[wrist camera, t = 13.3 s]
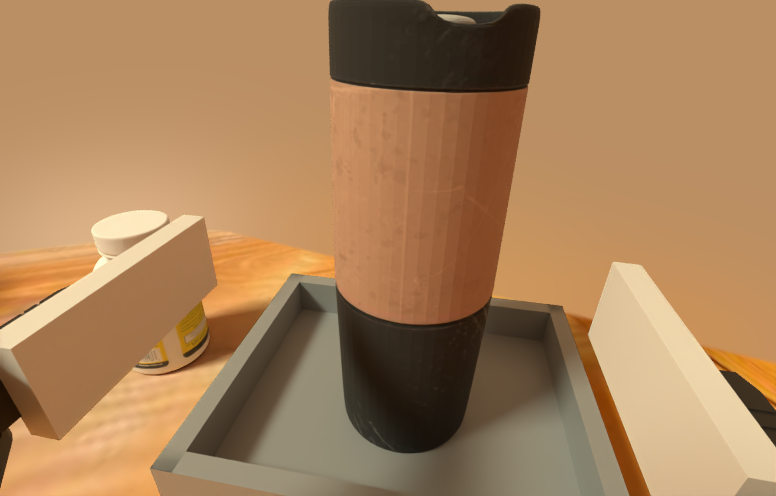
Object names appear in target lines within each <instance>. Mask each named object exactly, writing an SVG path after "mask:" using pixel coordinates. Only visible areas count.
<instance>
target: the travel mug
mask: <svg viewBox="0 0 776 496" xmlns="http://www.w3.org/2000/svg"><path fill="white" fill-rule="evenodd" d="M328 18H329V51H330V52H329V56H330V76H331V77H330V92H331V133H332V171H333V172H332V173H333V206H334V207H333V209H334V210H333V212H334V251H335V281H336V298H337V311H338V325H339V338H340V352H341V365H342V379H343V391H344V401H345V407H346V412H347V415H348V417H349V420H350V421H351V423H352V425H353V427H354V428H355V429H356V430H357V432H358V433H359V434H360V435H361V436H362V437H363V438H365V439H366V440H368V441H369V442H370V443H372V444H374V445H376V446H378V447H380V448H383V449H385V450H389V451H392V452H398V453H420V452H424V451H429V450H431V449H434V448H437V447H438V446H440V445H442V444H444V443H445V442H447V441H448V440H449V439H450V438H451V437H452V436H453V435H454V434H455V433H456V431H457V430H458V429H459V427H460V425H461V423H462V421H463V418H464V415H465V412H466V408H467V404H468V400H469V396H470V391H471V387H472V382H473V378H474V373H475V369H476V365H477V360H478V356H479V351H480V347H481V342H482V338H483V333H484V329H485V324H486V320H487V316H488V311H489V307H490V302H491V298H492V292H493V288H494V282H495V276H496V270H497V265H498V259H499V253H500V247H501V241H502V236H503V230H504V224H505V219H506V213H507V207H508V201H509V195H510V190H511V183H512V177H513V172H514V166H515V161H516V154H517V149H518V143H519V138H520V132H521V126H522V120H523V114H524V109H525V102H526V97H527V91H528V84H529V80H530V74H531V68H532V62H533V56H534V51H535V45H536V39H537V33H538V28H539V21H540V8H539V7H538V6H534V5H530V4H514V5H511V6H509V7H508V8H507V9H506V10H505V11H497V12H496V11H495V12H458V11H454V12H453V11H434V10H433V9H432V7H431V6H430V5H429V4H427V3H426V2H424V1H421V0H332V1H331V2H330V4H329V17H328Z"/></svg>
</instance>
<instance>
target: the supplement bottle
mask: <svg viewBox="0 0 776 496" xmlns="http://www.w3.org/2000/svg"><path fill="white" fill-rule="evenodd" d="M169 223H170V221H169V218H168V216H167V215H166V214H165V213H163V212H160V211H154V210H138V211H130V212H125V213H120V214H117V215H113V216H110V217H108V218H105V219H103V220H101V221H99V222H98V223H96V224H95V225H94V226H93V228H92V231H91V232H92V235H93V238H94V242H95V245H96V248H97V249H98V252H99V254H100V255H102V256H103V257H102V258H100V260H99V261H98V262H97V263H96V265H95V267H94V270H96V269H98V268H99V267H101V266H102V265H104V264H106V263H107V262H109V261H110V260H112V259H113V258H115V257H117V256H118V255H120V254H121V253H123V252H125V251H126V250H128V249H129V248H131V247H133V246H134V245H136V244H137V243H139V242H141V241H142V240H144V239H145V238H147V237H149V236H150V235H152V234H153V233H155V232H157V231H158V230H160V229H161V228H163V227H165V226H166V225H168V224H169ZM94 270H93V271H94ZM209 337H210V335H209V328H208V325H207V320H206V317H205V313H204V309H203V305H202V300H201V301H200V302H199V303H198V304H197V305H196V306H195V307H194V308H193V309H192V310H191V311H190V312H189V313H188V314H187V315H186V316H185V317H184V318H183V319H182V320H181V321H180V322H179V323H178V324H177V325H176V326H175V327H174V328H173V329H172V330H171V331H170V332H169V333H168V334H167V335H166V336H165V337H164V338H163V339H162V340H161V341H160V342H159V343H158V344H157V345H156V346H155V347H154V348H153V349H152V350H151V351H150V352H149V353H148V354H147V355H146V356H145V357H144V358H143V359H142V360H141V361H140V362H139V363H138V364H137V365H136V366H135V367H134V368H133V369H132V370H134V371H136V372H139V373H142V374H162V373H166V372H170V371H173V370H176V369H179V368H181V367H183V366H185V365H187V364H189V363H190V362H192V361H193V360H195V359H196V358H197V357H198V356H200V355H201V354H202V352H203V351H204V350H205V349H206V347H207V345H208V343H209Z"/></svg>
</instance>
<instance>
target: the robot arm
mask: <svg viewBox="0 0 776 496" xmlns="http://www.w3.org/2000/svg"><path fill="white" fill-rule="evenodd" d="M217 285H218V284H217V279H216V274H215V269H214V265H213V260H212V255H211V250H210V245H209V240H208V235H207V230H206V225H205V220H204V217H199V216H191V215H182V216H181V217H179V218H177V219H176V220H174V221H173V222H171V223H169V224H168V225H166V226H165V227H163V228H161V229H160V230H158V231H157V232H155V233H153V234H152V235H150V236H149V237H147V238H145V239H144V240H142V241H141V242H139V243H137V244H136V245H134V246H133V247H131V248H129V249H128V250H126V251H125V252H123V253H121V254H120V255H118V256H117V257H115V258H113V259H112V260H110V261H109V262H107V263H106V264H104V265H102V266H101V267H99V268H98V269H96V270H94V271H93V272H91V273H90V274H88V275H86V276H85V277H83V278H82V279H80V280H78V281H77V282H75V283H74V284H72V285H70V286H68V287H65V288H63V289H60V290H58V291H56V292H55V293H53V294H52V295H50V296H48V297H47V298H45V299H44V300H42V301H40V303H39V305H37V304H36V305H34V306H32V307H31V308H29V309H27V310H26V311H24V314H19V315H18V316H16V317H15V318H13V319H11V320H10V321H8V322H6V323H5V324H3V325H2V326H0V487H1V483H2V479H3V475H4V471H5V468H6V464H7V460H8V456H9V452H10V448H11V445H12V441H13V440H12V433H11V431H10V429H9V428H8V427H9V426H11V425H12V424H13V423H14V422H15V421H16V420H18V419H19V418H20V417H21V418H22V420H23V421H24V423H25V425H26V426H27V428H28V430H29V431H30V433H31V435H36V436H41V437H46V438H51V439H56V440H61V439H62V438H63V437H64V436H65V435H66V434H67V433H68V432H69V431H70V430H71V429H72V428H73V427H74V426H75V425H76V424H77V423H78V422H79V421H80V420H81V419H82V418H83V417H84V416H85V415H86V414H87V413H88V412H89V411H90V410H91V409H92V408H93V407H94V406H95V405H96V404H97V403H98V402H99V401H100V400H101V399H102V398H103V397H104V396H105V395H106V394H107V393H108V392H109V391H110V390H111V389H112V388H113V387H114V386H115V385H116V384H117V383H118V382H119V381H120V380H121V379H122V378H123V377H124V376H125V375H127V374H128V373H129V372H130V371H131V370H132V369H133V368H134V367H135V366H136V365H137V364H138V363H139V362H140V361H141V360H142V359H143V358H144V357H145V356H146V355H147V354H148V353H149V352H150V351H151V350H152V349H153V348H154V347H155V346H156V345H157V344H158V343H159V342H160V341H161V340H162V339H163V338H164V337H165V336H166V335H167V334H168V333H169V332H170V331H171V330H172V329H173V328H174V327H175V326H176V325H177V324H178V323H179V322H180V321H181V320H182V319H183V318H184V317H185V316H186V315H187V314H188V313H189V312H190V311H191V310H192V309H193V308H194V307H195V306H196V305H197V304H198V303H199V302H200V301H201V300H202V299H203V298H204V297H205V296H206V295H207V294H208V293H209V292H211V291H212V290H213V289H214V288H215V287H216V286H217ZM588 336H589V339H590V341H591V344H592V346H593V349H594V352H595V354H596V357H597V359H598V362H599V364H600V367H601V369H602V372H603V375H604V377H605V380H606V382H607V385H608V387H609V390H610V392H611V395H612V398H613V400H614V403H615V405H616V408H617V410H618V413H619V415H620V418H621V420H622V423H623V426H624V428H625V431H626V433H627V436H628V438H629V441H630V443H631V446H632V449H633V451H634V454H635V456H636V459H637V461H638V464H639V466H640V469H641V472H642V474H643V477H644V479H645V482H646V484H647V487H648V489H649V492H650V495H651V496H776V410H775V409H774V408H773V407H772V405H771V404H770V403H769V402H768V400H767V399H766V398H765V397H764V395H763V394H762V393H761V392H760V391H759V390H758V389H756V388H755V387H754V386H752V385H751V384H750V383H749V382H747V381H746V380H745V379H743V378H742V377H741V376H740V375H738V374H737V373H736V372H729V371H722V370H718V369H717V367H716V366H715V365H714V363H713V362H712V361H711V359H710V358H709V356H708V355H707V354H706V352H705V351H704V350H703V348H702V347H701V346H700V344H699V343H698V342H697V340H696V339H695V338H694V336H693V335H692V333H691V332H690V331H689V330H688V328H687V327H686V326H685V324H684V323H683V321H682V320H681V319H680V317H679V316H678V315H677V313H676V312H675V311H674V309H673V308H672V306H671V305H670V304H669V302H668V301H667V300H666V299H665V297H664V296H663V294H662V293H661V292H660V290H659V289H658V288H657V286H656V285H655V283H654V282H653V281H652V280H651V278H650V277H649V275H648V274H647V273H646V271H645V270H644V269H643V267H642V266H641V265H637V264H628V263H619V262H613V263H612V266H611V269H610V272H609V275H608V278H607V280H606V284H605V286H604V289H603V292H602V295H601V298H600V301H599V304H598V307H597V310H596V312H595V316H594V318H593V321H592V324H591V327H590V330H589V333H588Z"/></svg>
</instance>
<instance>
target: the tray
mask: <svg viewBox="0 0 776 496" xmlns="http://www.w3.org/2000/svg"><path fill="white" fill-rule="evenodd" d="M150 470H151V473H152V475H153V478H154V480H155V482H156V485H157V487H158V490H159V492H160V495H161V496H629V493H628V490H627V487H626V484H625V482H624V479H623V476H622V473H621V470H620V467H619V465H618V462H617V459H616V456H615V453H614V451H613V448H612V445H611V442H610V439H609V436H608V434H607V431H606V428H605V425H604V422H603V420H602V417H601V414H600V411H599V408H598V405H597V403H596V400H595V397H594V394H593V391H592V388H591V386H590V383H589V380H588V377H587V374H586V372H585V369H584V366H583V363H582V360H581V357H580V355H579V352H578V349H577V346H576V343H575V341H574V338H573V335H572V332H571V329H570V326H569V324H568V321H567V318H566V315H565V312H564V310H563V307H562V306H557V305H549V304H541V303H532V302H525V301H516V300H508V299H500V298H491V302H490V307H489V311H488V316H487V320H486V324H485V329H484V333H483V338H482V342H481V347H480V351H479V356H478V360H477V365H476V369H475V373H474V378H473V382H472V387H471V391H470V396H469V400H468V404H467V408H466V412H465V415H464V418H463V421H462V423H461V425H460V427H459V429H458V430H457V431H456V433H455V434H454V435H453V436H452V437H451V438H450V439H449V440H448V441H447V442H445V443H444V444H442V445H440V446H438V447H437V448H434V449H431V450H429V451H424V452H420V453H398V452H392V451H389V450H385V449H383V448H380V447H378V446H376V445H374V444H372V443H370V442H369V441H368V440H366V439H365V438H363V437H362V436H361V435H360V434H359V433H358V432H357V430H356V429H355V428H354V427H353V425H352V423H351V421H350V420H349V417H348V415H347V412H346V407H345V401H344V391H343V379H342V365H341V352H340V338H339V325H338V311H337V298H336V281H335V279H334V278H325V277H317V276H309V275H300V274H291V275H290V277H289V278H288V279H287V281H286V282H285V283H284V285H283V286H282V288H281V289H280V290H279V292H278V293H277V294H276V296H275V297H274V299H273V300H272V301H271V303H270V304H269V305H268V307H267V308H266V310H265V311H264V312H263V314H262V315H261V316H260V318H259V319H258V321H257V322H256V323H255V325H254V326H253V327H252V329H251V330H250V332H249V333H248V334H247V336H246V337H245V338H244V340H243V341H242V343H241V344H240V345H239V347H238V348H237V349H236V351H235V352H234V354H233V355H232V356H231V358H230V359H229V360H228V362H227V363H226V365H225V366H224V367H223V369H222V370H221V371H220V373H219V374H218V376H217V377H216V378H215V380H214V381H213V382H212V384H211V385H210V387H209V388H208V389H207V391H206V392H205V393H204V395H203V396H202V398H201V399H200V400H199V402H198V403H197V404H196V406H195V407H194V409H193V410H192V411H191V413H190V414H189V415H188V417H187V418H186V420H185V421H184V422H183V424H182V425H181V426H180V428H179V429H178V431H177V432H176V433H175V435H174V436H173V437H172V439H171V440H170V442H169V443H168V444H167V446H166V447H165V448H164V450H163V451H162V453H161V454H160V455H159V457H158V458H157V459H156V461H155V462H154V464H153V465H152V466H151V468H150Z"/></svg>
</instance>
